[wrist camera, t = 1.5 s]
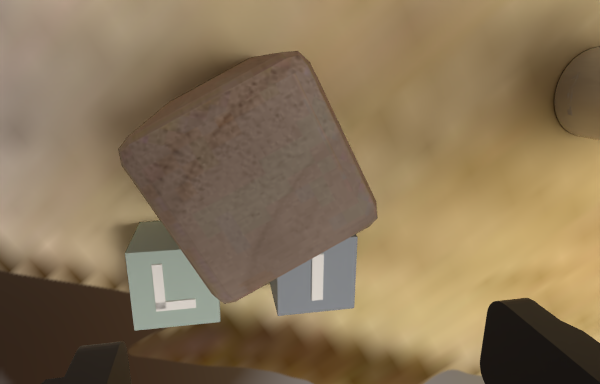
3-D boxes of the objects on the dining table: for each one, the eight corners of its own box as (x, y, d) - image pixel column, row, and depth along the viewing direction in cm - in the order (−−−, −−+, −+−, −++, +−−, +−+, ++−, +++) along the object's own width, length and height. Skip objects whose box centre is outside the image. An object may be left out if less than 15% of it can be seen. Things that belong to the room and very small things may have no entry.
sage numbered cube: (215, 217, 41) (216, 247, 34) (219, 284, 43) (220, 325, 37) (137, 222, 40) (121, 254, 33) (145, 290, 42) (131, 334, 35)
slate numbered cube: (335, 210, 43) (358, 237, 37) (334, 274, 45) (354, 311, 39) (265, 214, 42) (274, 243, 35) (266, 279, 44) (276, 319, 37)
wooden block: (310, 149, 41) (390, 223, 22) (218, 200, 41) (221, 318, 22) (260, 52, 38) (304, 41, 19) (160, 106, 37) (103, 150, 18)
